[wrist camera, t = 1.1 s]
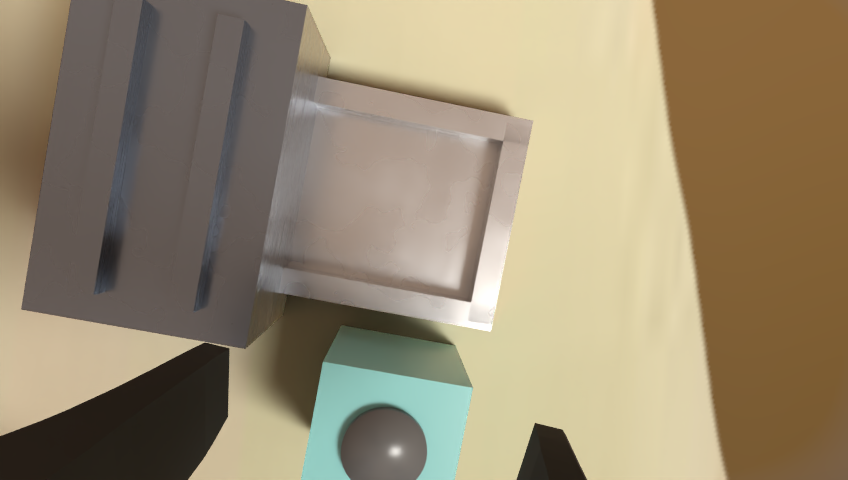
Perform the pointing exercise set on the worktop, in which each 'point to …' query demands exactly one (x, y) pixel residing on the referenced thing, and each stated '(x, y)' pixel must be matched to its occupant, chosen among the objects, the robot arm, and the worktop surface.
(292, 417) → the worktop surface
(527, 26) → the worktop surface
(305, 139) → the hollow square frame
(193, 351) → the robot arm
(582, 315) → the worktop surface
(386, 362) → the teal block with knob
